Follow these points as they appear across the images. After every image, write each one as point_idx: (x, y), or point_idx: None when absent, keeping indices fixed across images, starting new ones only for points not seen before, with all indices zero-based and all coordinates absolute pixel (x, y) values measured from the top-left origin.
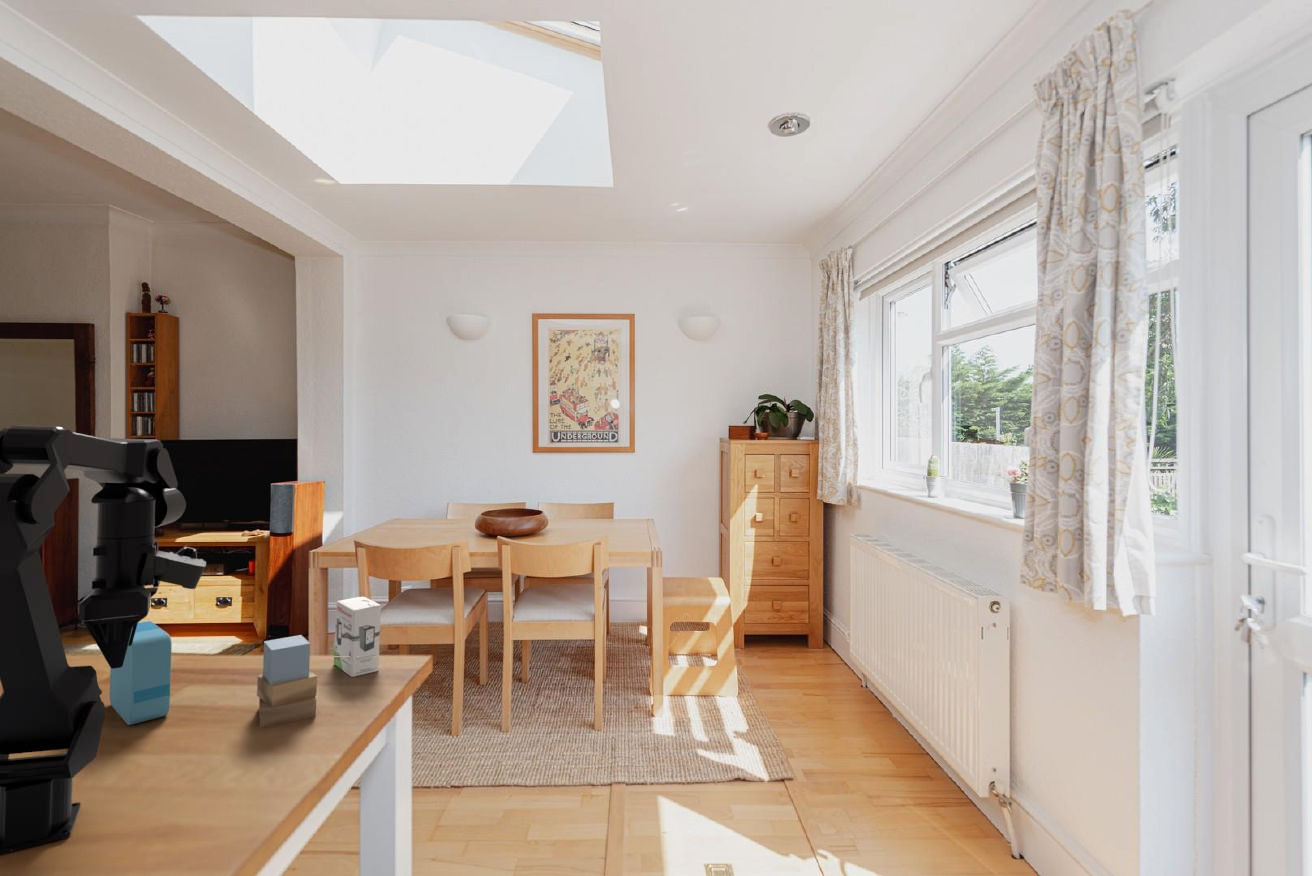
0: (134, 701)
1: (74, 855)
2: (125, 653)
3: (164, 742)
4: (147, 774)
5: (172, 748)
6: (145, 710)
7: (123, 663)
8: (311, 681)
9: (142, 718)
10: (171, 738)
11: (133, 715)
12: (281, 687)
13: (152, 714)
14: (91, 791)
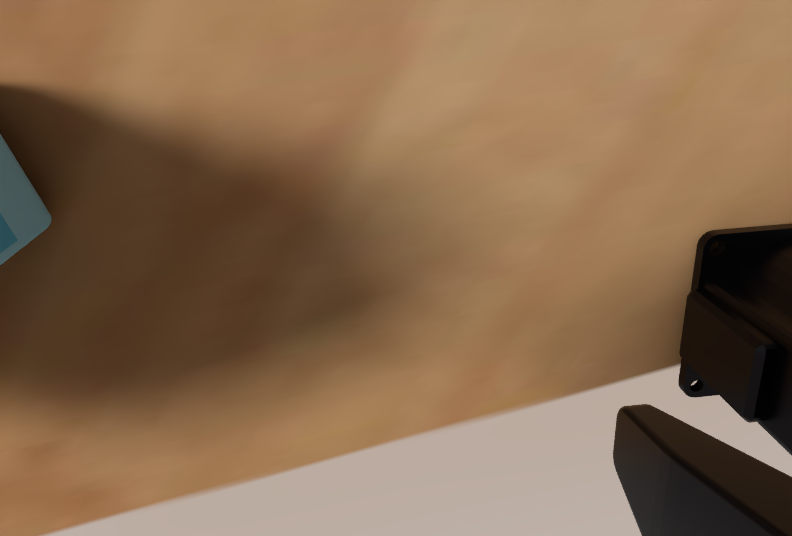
0: (9, 240)
1: None
2: (755, 462)
3: (285, 54)
4: (571, 76)
5: (367, 14)
6: (10, 178)
7: (634, 412)
8: None
9: (27, 179)
10: (251, 31)
11: (44, 219)
12: None
13: (5, 144)
14: (600, 225)
